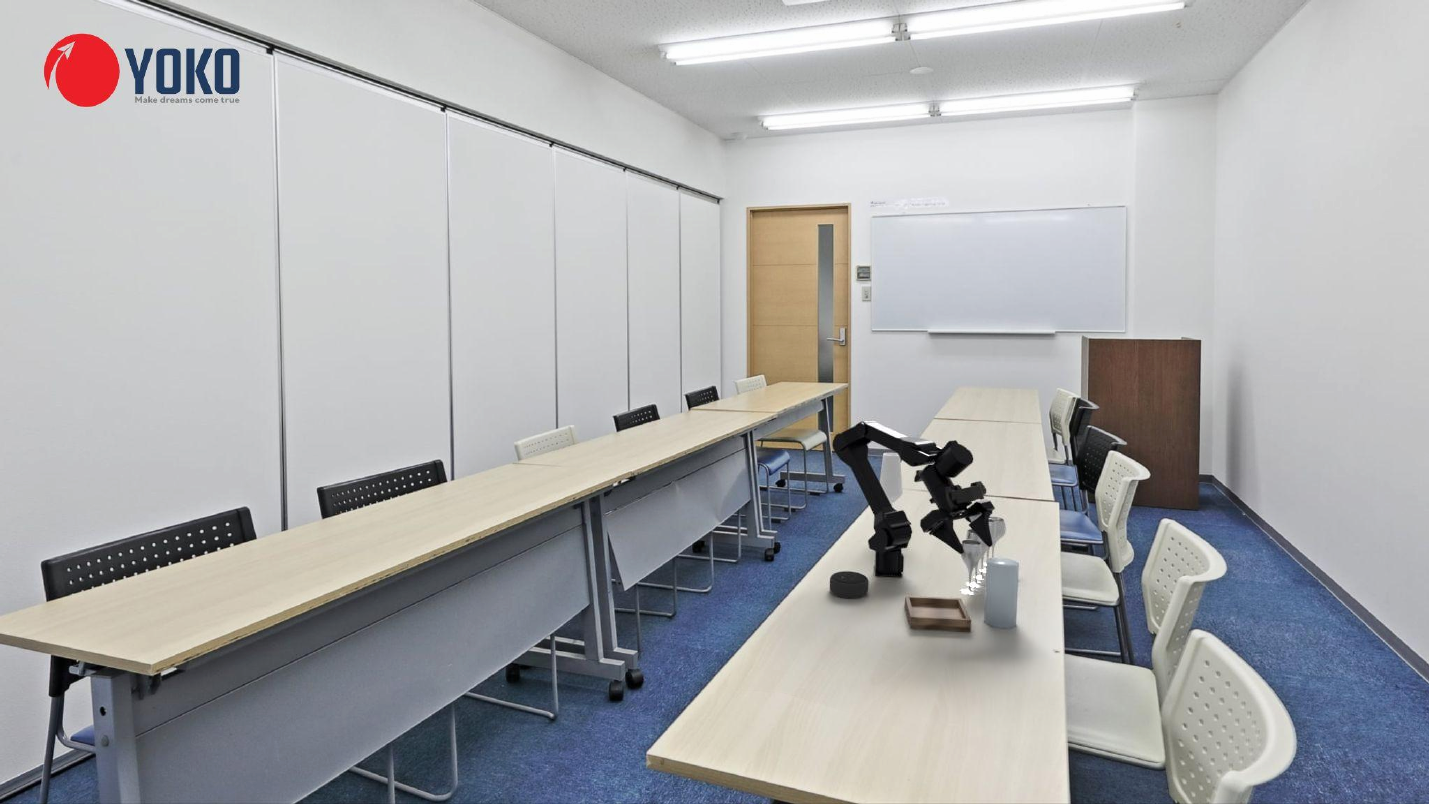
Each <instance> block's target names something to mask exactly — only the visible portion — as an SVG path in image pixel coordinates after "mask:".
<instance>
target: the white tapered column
mask: <svg viewBox="0 0 1429 804" xmlns="http://www.w3.org/2000/svg"><path fill="white" fill-rule="evenodd" d="M881 461H882V462H881V469H880V477H879V482H880V484H881V486H882V488H883V490H884V492H885V494H886V496H887V498H888V500H889V502H890V504H891V506H892V507H893V504H894V503H896V502H897V501H898V500H899V499H900V498H901V497H902V495H903V477H902V466H901V464H902V463H901V462H902V461H901V459H900V457H899V455H898V454H897V453H896V452H884V453H883V454H882V460H881Z"/></svg>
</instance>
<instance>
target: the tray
mask: <svg viewBox="0 0 1429 804" xmlns="http://www.w3.org/2000/svg"><path fill="white" fill-rule="evenodd" d="M904 609H905V612H906V616H907V621H908V625H909V628H910V629H912V630H926V631H927V630H928V631H945V632H946V631H947V632H965V633H971V632H972V618H971V617H970V615H969V612H968V610H967V608H966V606H965V604H964V602H963V599H962V598H957V597H942V596H941V597H940V596H922V595H921V596H919V595H905V596H904Z"/></svg>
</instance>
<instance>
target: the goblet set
mask: <svg viewBox="0 0 1429 804" xmlns="http://www.w3.org/2000/svg"><path fill="white" fill-rule="evenodd" d="M989 528H990V533H991V538H992V543H993V545H992V546H991V547H988V546H987V545H986V544H985V543H984V542H983V541H982V540H981V539H980V538H979V536H978V535H977V534H976V533H975V532H974V531H973V530H972V529H971V528H969V529H968V530H967V531H966V536H965V539H964V540H962V541H961V542H960V543H961V544H962V547H963V549H964V553H963V554H960V557H961V560H962V561H963V563H964V564H965V567H966V569H967V572H968V580H967V581H966V582H965V585H966V586H968V587H963V588H960V589H961V590H960V589H959V592H960V591H961V592H960V593H961V594H964V595H966V594H969V595H968V596H977V594H978V595H979V594H980V591H979V590H977V589H980V588H981V587H983V588H985V583H984V582H983V581H986V561H984V558H985V554H986V560H987V559H989V558H990V557H989V555H990V548H991V558H994V553H995V546H996V544H997V542H999V541H1000V540H1001V539H1002V538H1003V537H1004V536H1005V534H1006V532H1007V527H1006V523H1005V520H1004V518H1002V517H1000V516H990V518H989ZM979 563H980V565H981V566H980V568H979V569H978V567H979ZM983 565H984V566H985V567H984V566H983ZM974 568H975V569H974ZM973 571H975V572H974V574H973ZM978 571H980V574H978ZM983 573H984V574H983ZM972 576H973V578H974V580H972ZM974 587H976V588H977V589H976V588H974ZM981 589H982V588H981ZM974 594H976V595H974Z"/></svg>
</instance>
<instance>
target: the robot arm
mask: <svg viewBox="0 0 1429 804" xmlns="http://www.w3.org/2000/svg"><path fill="white" fill-rule="evenodd" d="M872 442H873V443H876V444H878V445H881V446H882V447H884V448H886V449H889V450H891V451H893V452H894V453H897V454H898V455H899V457H900V461H902V462H904V463H905V464H907V465H908V466H910V467H913V468H915V467H921V466H925V467H924V468H923V469H917V470H915V475H914V479H913V481H914V482H915V483H919V482H923V484H924V486H925V488H926V490H927V491H928V493H929V495H930V496H931V498H930V499H928V500H929V502H930V504H931V505H932V504H935V505H936V507H937V509H933V510H931V511H929V512H928V513H927V514H926V515H925V516H924V517H922V518H921V519H920V522H919V526H920V528H921V530H922V532H923V533H924V534H925V533H928V535H929V536H933V537H934V538H936V539H938V540H940V541H941V542H943V543H945V545H947V546H948V547H950V548H951V549H952V550H954V551H956V553H958V554H959V555H961V554H963V553H964V549H963V547H962V544H961V543H962V542H961V541H960V539H959V537H958V535H957V532H956V531H955V528H954V521H958V520H962V519H965V520H966V521H967V522H968V523H969V524H968V526H969V527H970V529H972V530H973V531H974V532H975V533H976V534H977V535H978V536H979V538H980V539H981V540H982V541H983V542H984V543H985V544H986V545H987V546H988V547H990V548H992V545H993V543H992V538H991V533H990V528H989V518H990V517H991V516H992V514H993V511H994V510H995V509H996V508H995V506H994V504H993V503H992V501H991V500H988V499H985V497H984V496H985V495H986V494H987V488H986V486H985V485H984V484H983V482H982V481H981V480H979V481H974V482H971V483H970V485H969V486H968V487H963V486H961V485H959V484H954V483H953V481H952V479H955V478H956V477H958V476H959V475H960V474H961V473H963V472H964V471H965V470H966V469H967V468H968V467H969V466H971V465H972V464H973V462H974V455H973V453H972V452H971V450H970V449H968V448H967V447H966V446H964V445H963V444H960V443H959V442H958V441H957V439H952V440H948V442H947V443H946V444H945V446H943V447H940V446H938V445H937V444H936V443H935V441H933V440H931V439H926V438H920V437H911V436H907V435H905V434H902V433H901V432H898V431H895V430H894V429H891V428H889V427H887V426H885V425H883V424H880V423H878V421H876V420H873V419H872V420H864V421H860V422H857V424H855V425H854V426H852V427H850V428H848V429H846V430H844V431H842V432H841V433H840V432H839V433H837V434H835V435H834V438H833V440H832V443H831V445H832V448H833V451H834V453H835V454H836V456H837V458H838V459H839V460H840V461H841V462H842V463H844V464H845V465H847V466H848V467H849V468H850V469H851V471H852V474H853V475H854V479H856V482H857V484H858V487H859V488H860V489H861V492H862V494H863V495H864V497H865V500H866V501H867V503H868V505H869V508H870V510H871V511H872V512H871V513H872V514H873V516H874V517H873V530H874V534H873V535H872V536H871V537H870V538H869V539H868V540H867V544H868V548H869V549H870V550H872V551H874V565H873V571H874V576H876V577H899V578H901V577H903V573H904V566H905V565H904V564H905V562H904V561H905V556H904V554H903V552H902V549H907V548H908V546H909V544H910V543H909V542H910V541H911V539H912V534H913V528H912V527H911V525H912V522H910V521H909V518H908V516H907V514H906V512H905V511H904V510H903V509H900V510H897V509H895V508H894V507H893V505H892V506H891V504H890V502H889V500H888V498H887V496H886V494H885V492H884V490H883V488H882V486H881V484H880V479H879V478H878V476H877V474H876V473H875V471H874V468H873V466H872V465H871V463H870V460H869V444H870V443H872ZM951 478H952V479H951ZM977 500H978V501H977Z"/></svg>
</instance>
